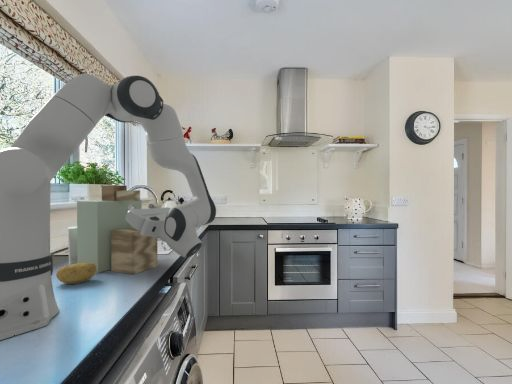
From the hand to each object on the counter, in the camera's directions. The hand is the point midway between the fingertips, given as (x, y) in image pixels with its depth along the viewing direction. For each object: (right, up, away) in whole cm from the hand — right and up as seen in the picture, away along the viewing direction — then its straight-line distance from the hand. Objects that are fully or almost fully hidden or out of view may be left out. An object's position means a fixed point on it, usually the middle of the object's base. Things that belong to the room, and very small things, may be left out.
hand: (140, 205), depth 107 cm
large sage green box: (-15, -24, +7) cm, 29 cm away
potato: (-15, -25, -15) cm, 32 cm away
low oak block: (-3, -24, +1) cm, 24 cm away
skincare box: (-28, -25, +8) cm, 38 cm away
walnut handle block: (-9, +2, +5) cm, 10 cm away
